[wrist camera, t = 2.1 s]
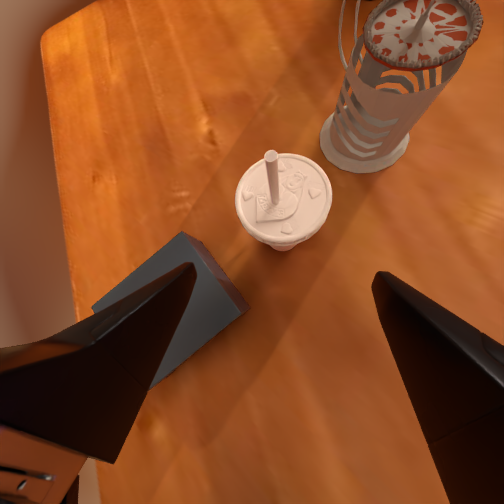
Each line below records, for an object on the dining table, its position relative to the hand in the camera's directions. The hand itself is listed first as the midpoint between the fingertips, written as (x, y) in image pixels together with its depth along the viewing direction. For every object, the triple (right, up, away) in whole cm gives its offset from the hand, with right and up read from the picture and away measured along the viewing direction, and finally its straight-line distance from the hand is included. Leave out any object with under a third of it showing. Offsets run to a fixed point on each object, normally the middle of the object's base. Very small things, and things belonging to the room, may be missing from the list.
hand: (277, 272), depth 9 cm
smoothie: (+2, +3, +12) cm, 13 cm away
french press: (+11, +15, +13) cm, 23 cm away
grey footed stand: (-9, -5, +12) cm, 16 cm away
